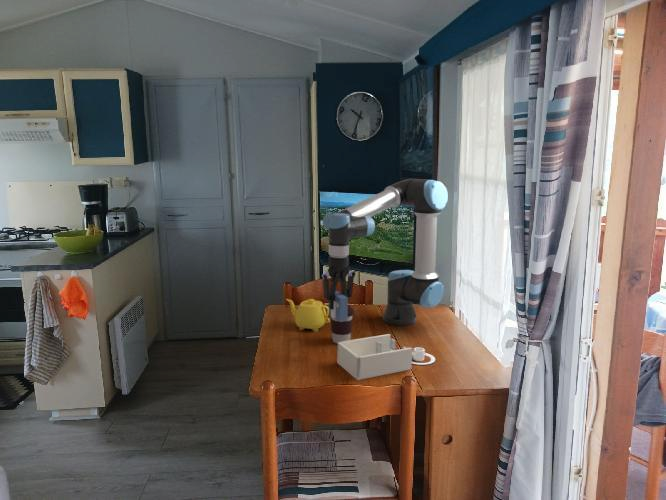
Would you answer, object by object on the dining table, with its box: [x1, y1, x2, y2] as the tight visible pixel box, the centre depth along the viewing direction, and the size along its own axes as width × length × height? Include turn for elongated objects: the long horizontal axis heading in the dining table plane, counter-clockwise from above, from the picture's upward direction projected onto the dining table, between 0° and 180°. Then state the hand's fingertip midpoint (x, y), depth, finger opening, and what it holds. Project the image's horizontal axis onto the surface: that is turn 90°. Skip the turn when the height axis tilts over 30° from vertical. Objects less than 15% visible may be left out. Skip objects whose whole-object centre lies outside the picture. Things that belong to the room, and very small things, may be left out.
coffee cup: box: [330, 304, 355, 344], centre depth 222 cm, size 10×10×15 cm
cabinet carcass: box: [336, 333, 413, 381], centre depth 199 cm, size 22×16×8 cm
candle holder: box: [412, 347, 436, 366], centre depth 207 cm, size 12×12×4 cm
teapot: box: [285, 298, 331, 333], centre depth 239 cm, size 14×20×13 cm
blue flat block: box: [328, 290, 349, 322], centre depth 206 cm, size 3×10×9 cm, turn 25°
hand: (337, 316), depth 207 cm, fingers closed on blue flat block, 3 cm apart
